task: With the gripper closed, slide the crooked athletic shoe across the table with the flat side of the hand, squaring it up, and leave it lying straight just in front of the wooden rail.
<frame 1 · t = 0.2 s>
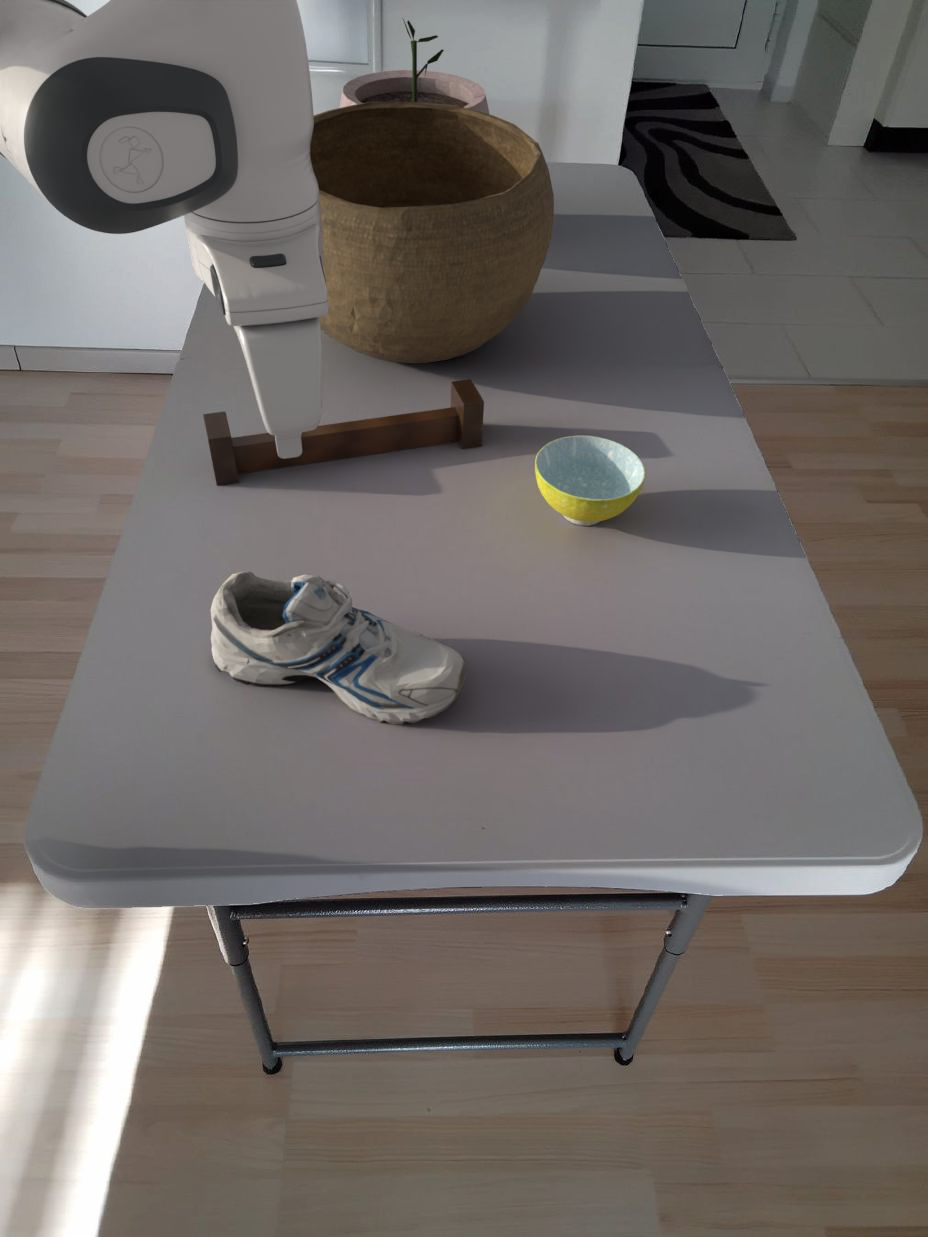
hand: (278, 418, 71), 22 cm above the table, tool pointing down, fingers open, 8 cm apart
plant pot: (414, 234, 149), on the table
basket: (411, 335, 126), on the table
bowl: (582, 514, 99), on the table
wooden rail: (349, 452, 106), on the table
athletic shoe: (338, 677, 82), on the table
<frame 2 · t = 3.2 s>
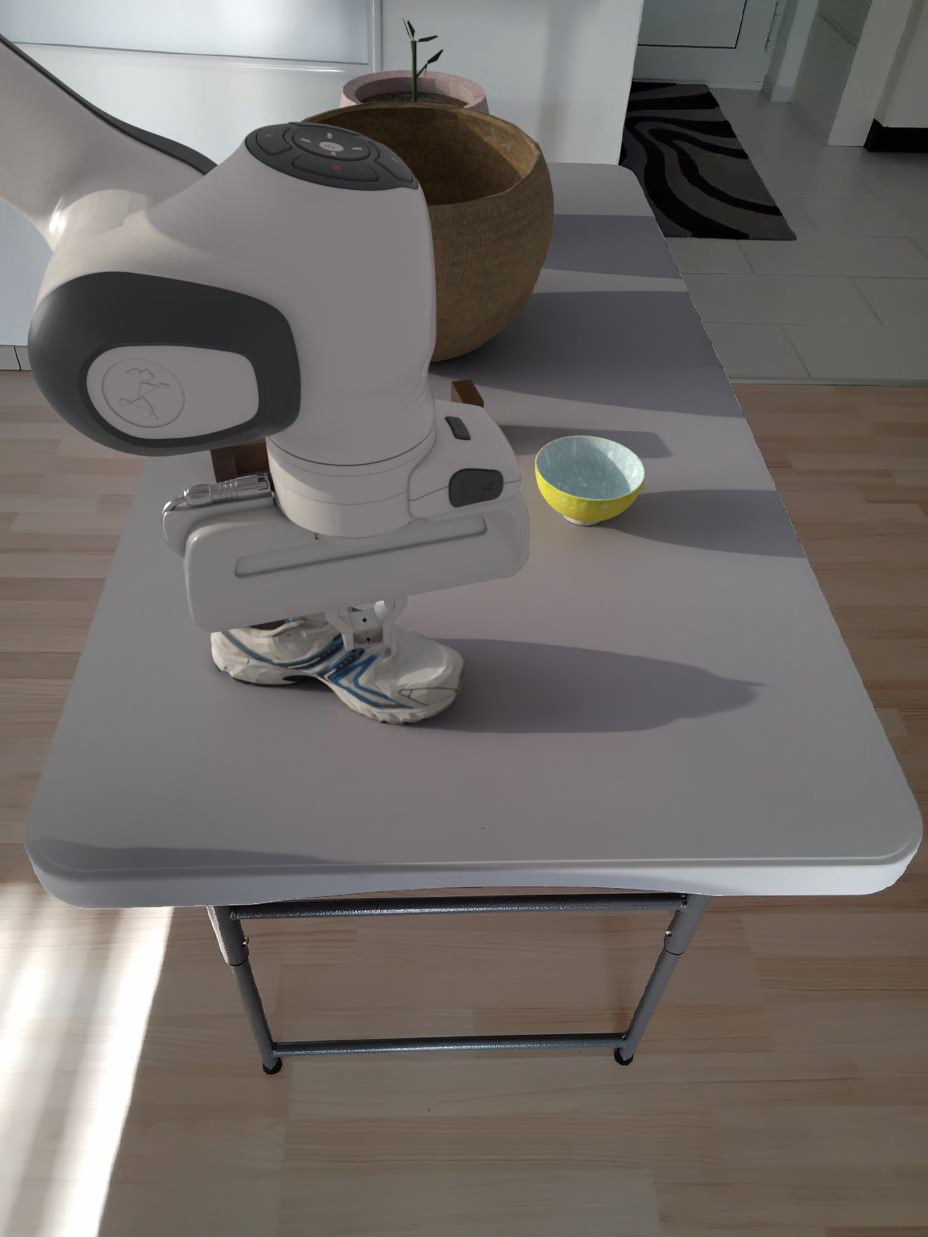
hand: (365, 639, 59), 19 cm above the table, tool pointing down, fingers closed
nothing on the table moved.
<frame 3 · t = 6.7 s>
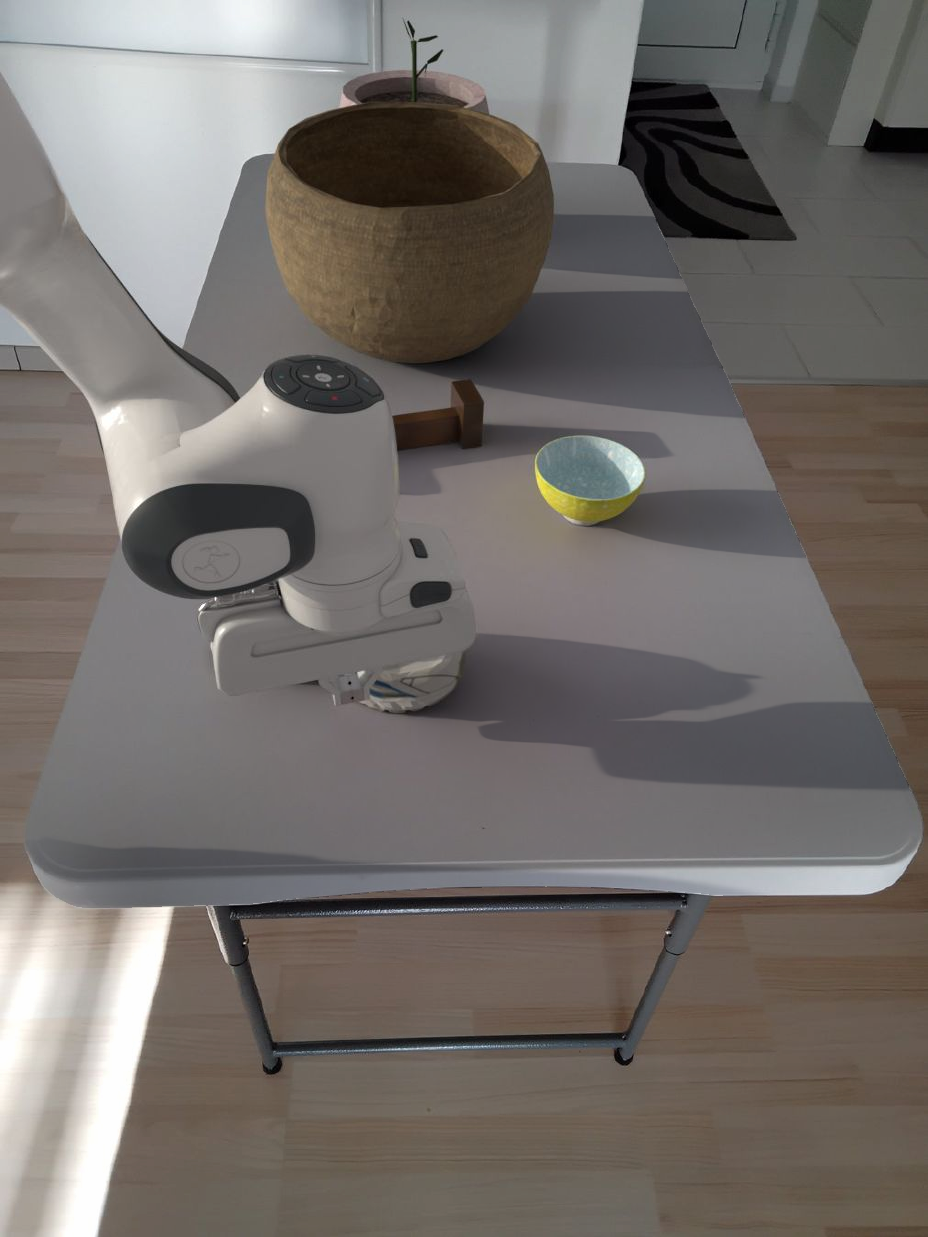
hand: (350, 697, 76), 3 cm above the table, tool pointing down, fingers closed
athletic shoe: (338, 669, 83), on the table, touching gripper
everything else where it was.
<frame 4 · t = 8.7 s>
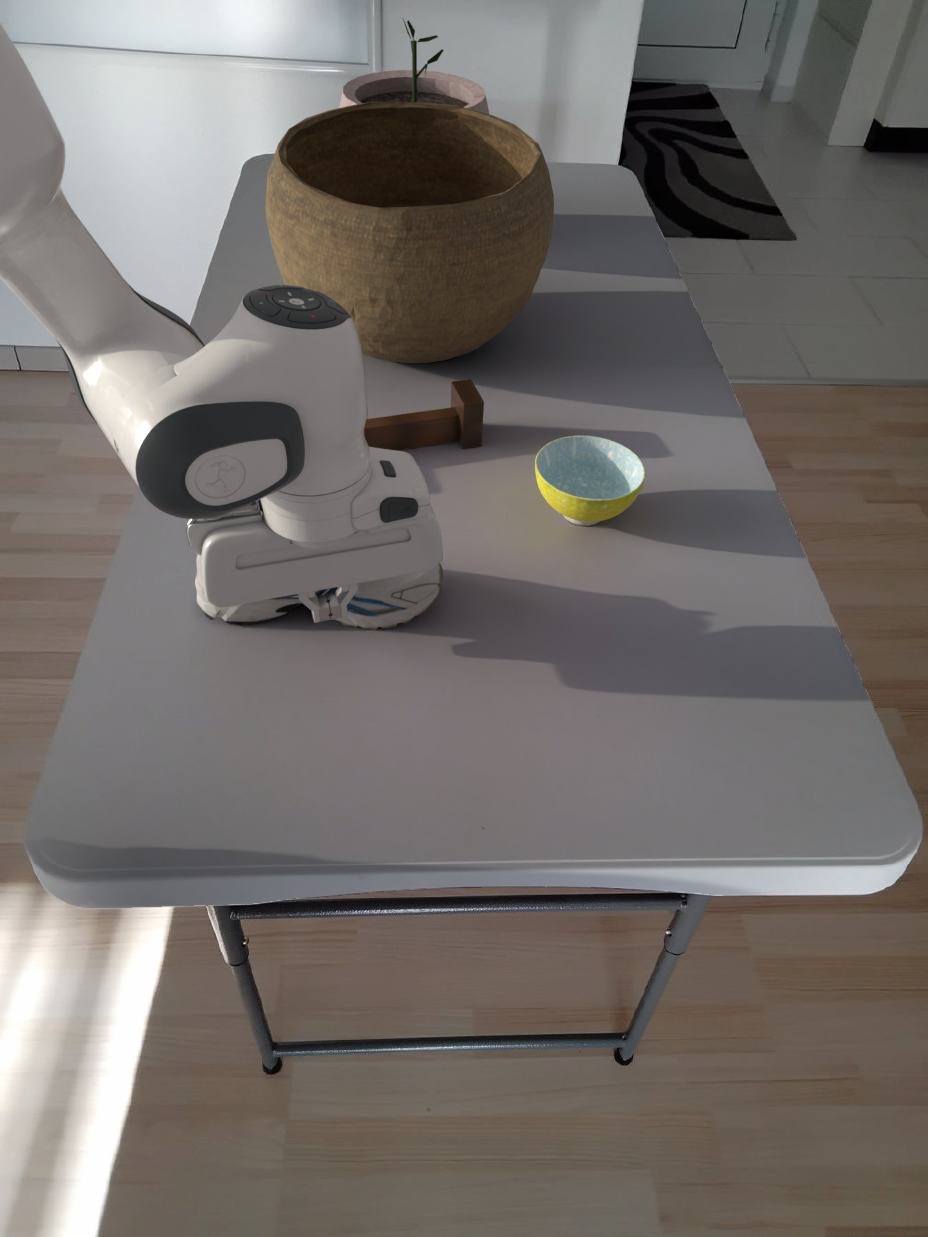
hand: (329, 615, 82), 3 cm above the table, tool pointing down, fingers closed
athletic shoe: (321, 602, 88), on the table, touching gripper
everything else where it was.
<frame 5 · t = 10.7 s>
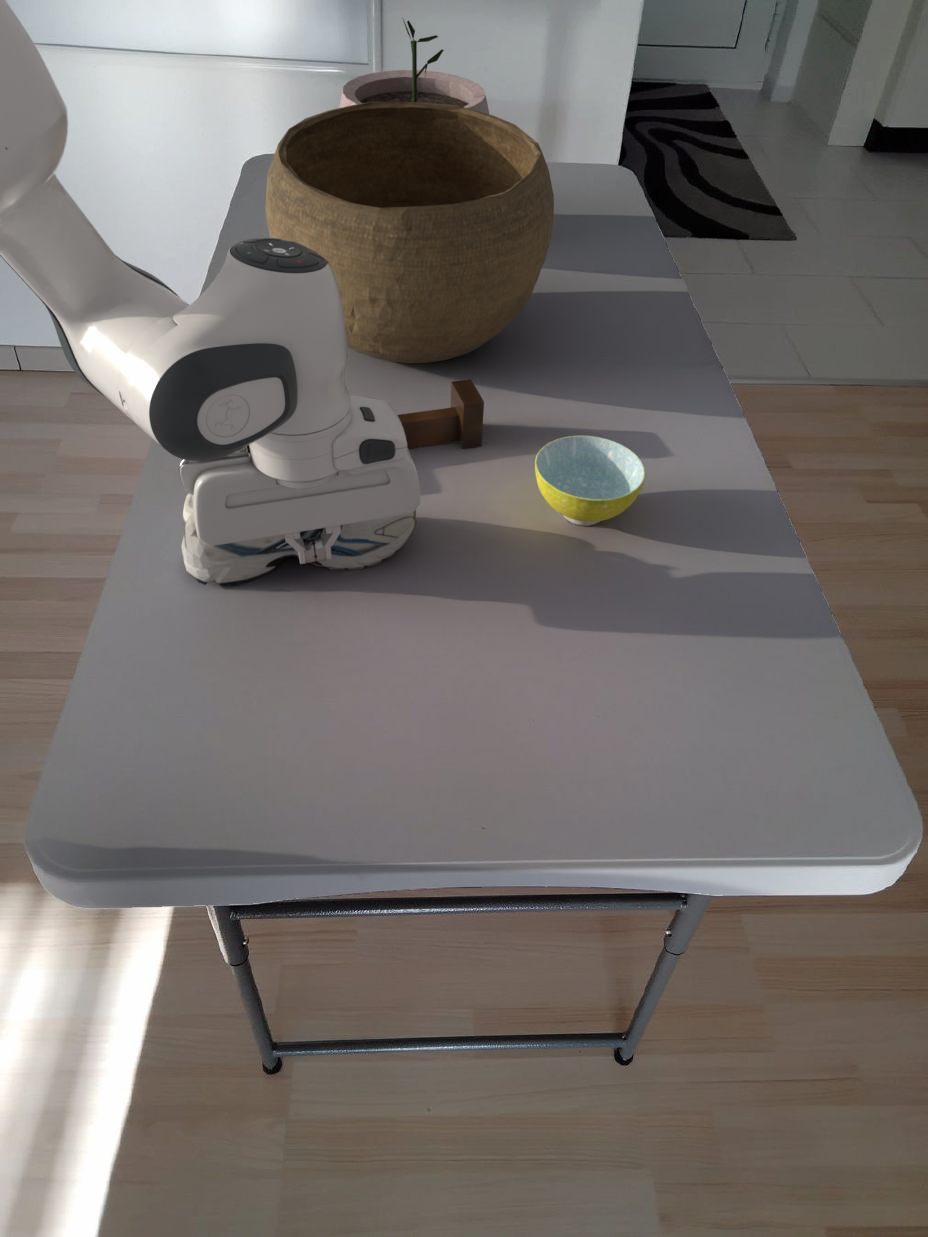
hand: (314, 557, 88), 3 cm above the table, tool pointing down, fingers closed, pressing on athletic shoe
athletic shoe: (303, 553, 93), on the table, touching gripper
everything else where it was.
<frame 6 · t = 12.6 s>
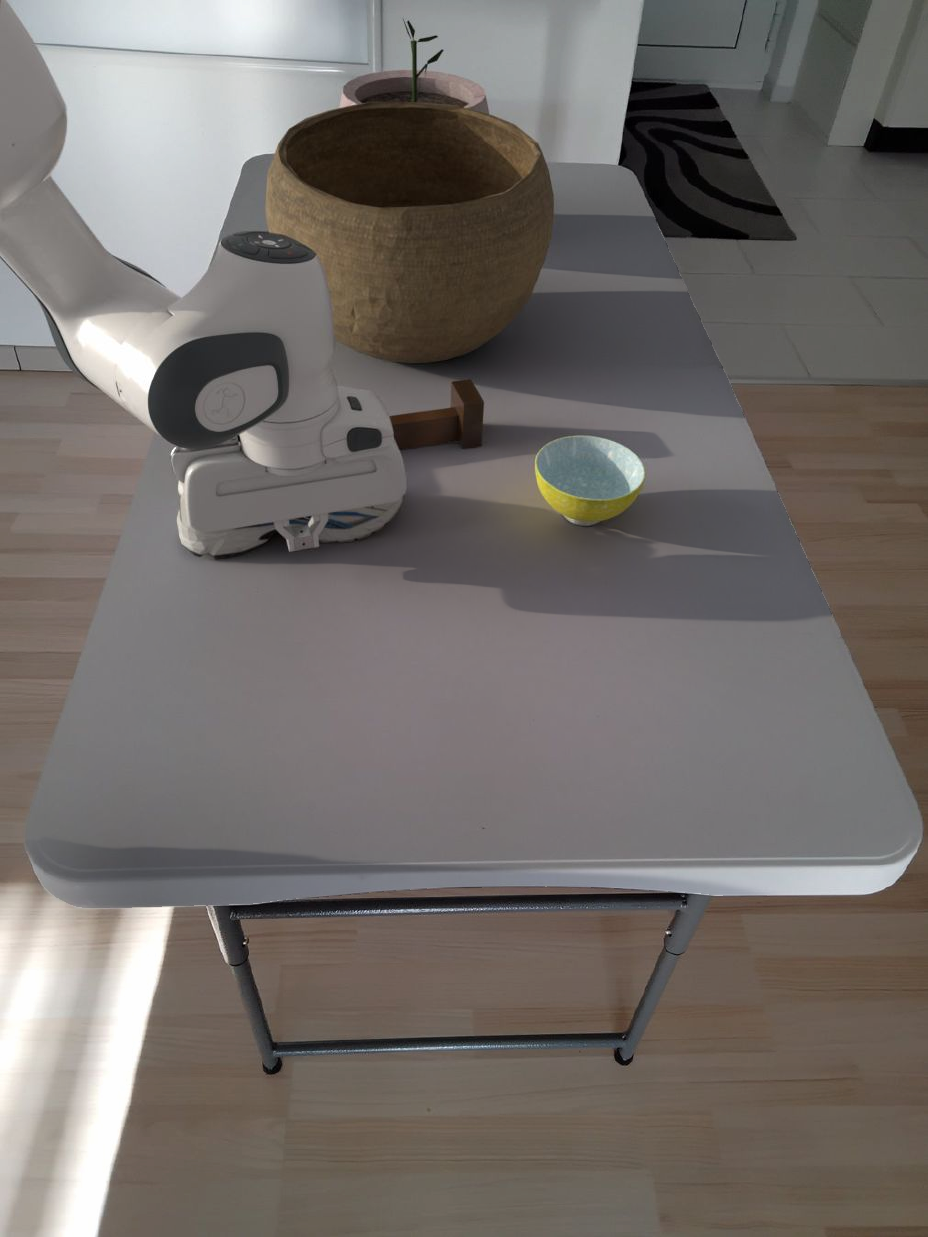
hand: (303, 545, 90), 3 cm above the table, tool pointing down, fingers closed
athletic shoe: (295, 527, 96), on the table
everything else where it was.
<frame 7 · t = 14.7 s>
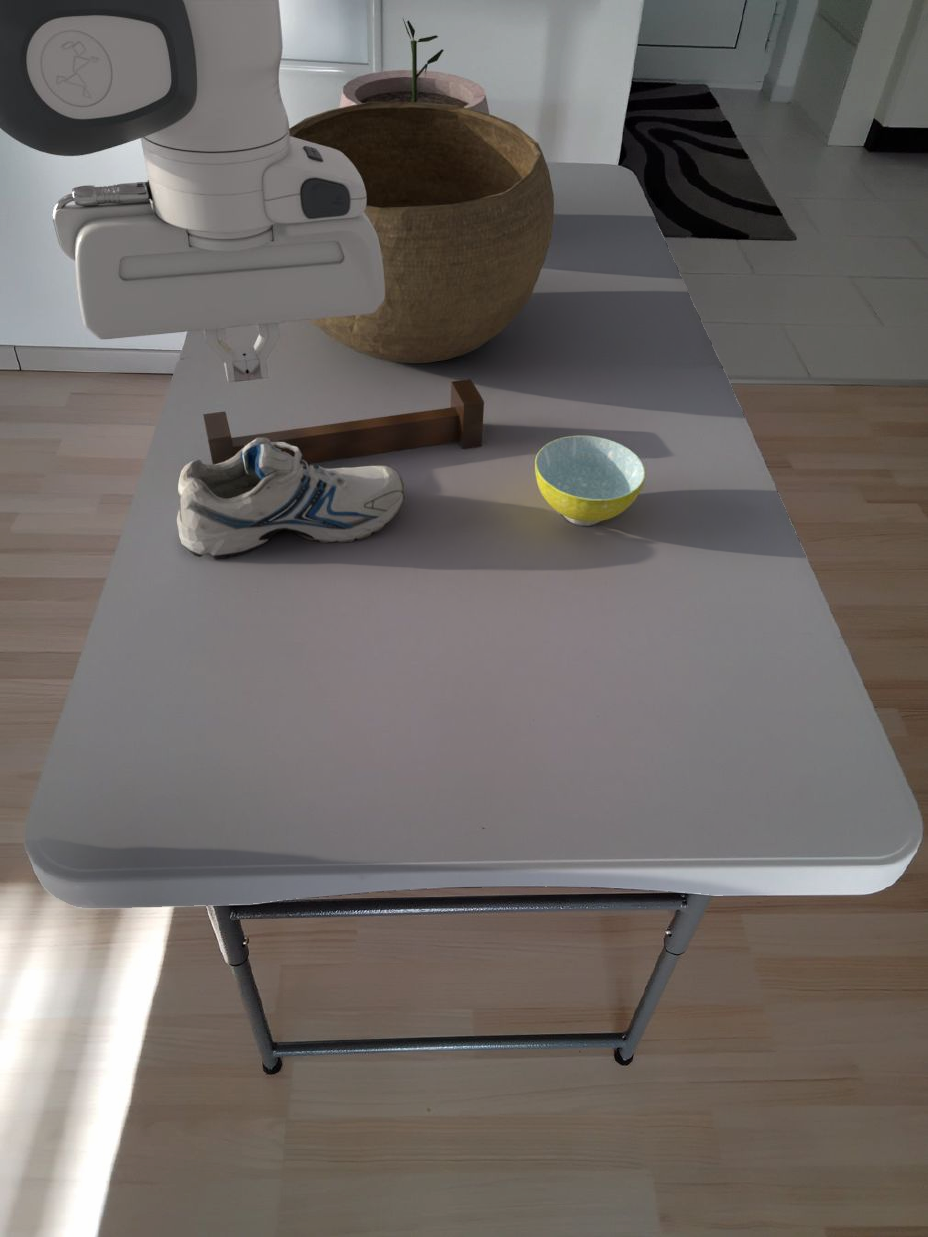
hand: (247, 376, 67), 26 cm above the table, tool pointing down, fingers closed
nothing on the table moved.
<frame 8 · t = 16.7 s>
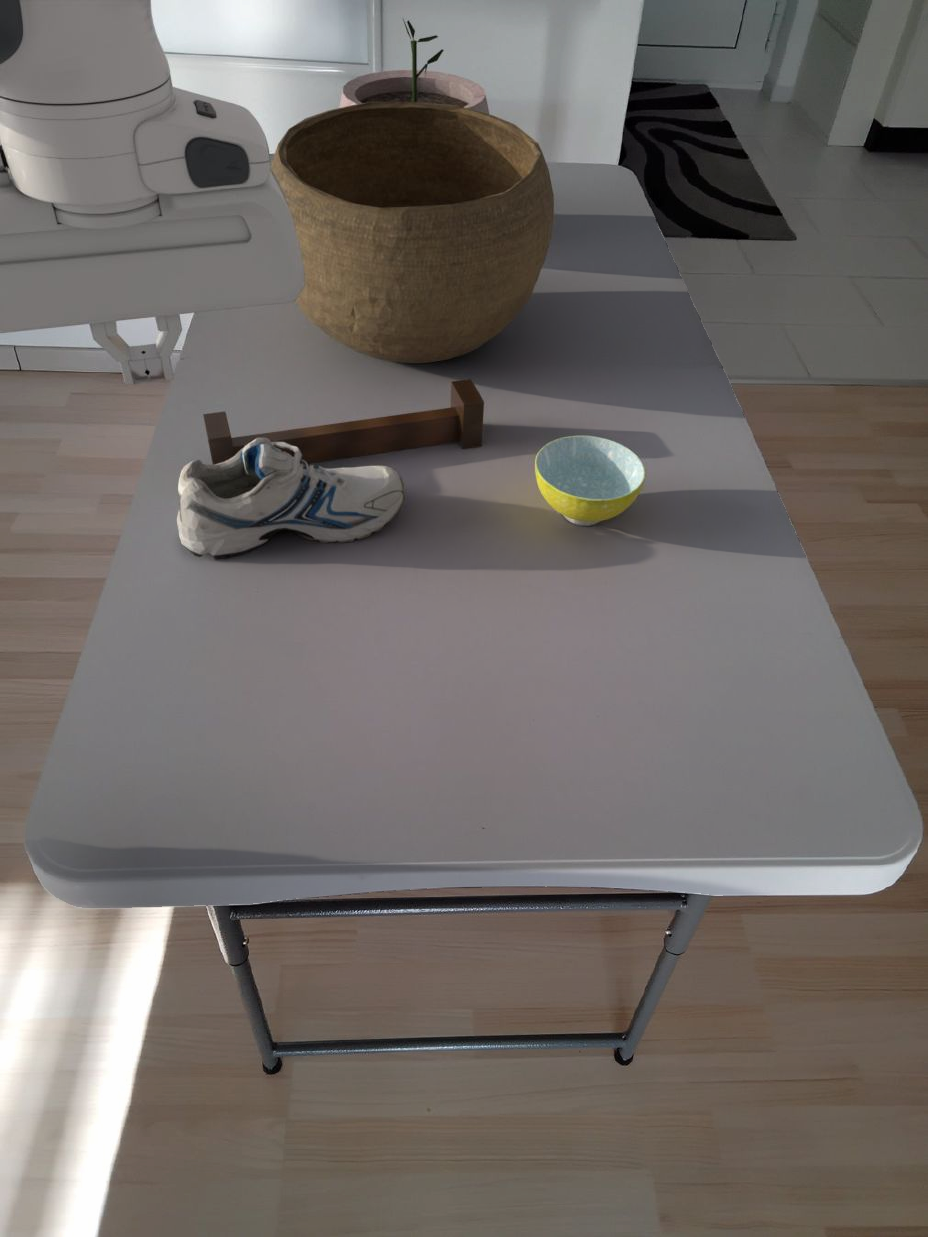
hand: (149, 378, 57), 31 cm above the table, tool pointing down, fingers closed
nothing on the table moved.
at the end: athletic shoe inside the target area on the table beside the wooden rail (6.3 cm from its centre), on the table; athletic shoe tilted 0°; athletic shoe moved 21.5 cm from its start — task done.
